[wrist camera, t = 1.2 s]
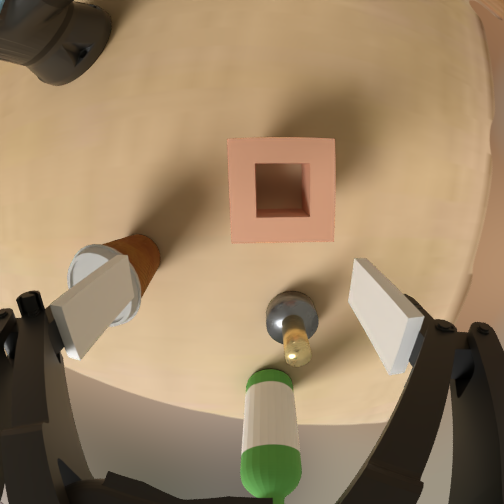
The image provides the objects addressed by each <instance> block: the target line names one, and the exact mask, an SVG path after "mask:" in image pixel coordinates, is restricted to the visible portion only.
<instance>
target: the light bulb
mask: <svg viewBox="0 0 504 504" xmlns="http://www.w3.org/2000/svg"><path fill="white" fill-rule="evenodd" d="M266 325H267V331H268V333H269V335H270V336H271V337H272V338H273V339H274V340H275V341H277V342H279V343H281V344H284V352H285V360H286V362H287V363H288V364H289V365H291V366H294V367H300V366H303V365H306V364H307V363H308V362H309V361H310V360H311V357H312V353H311V349H310V345H309V341H308V339H309V338H310V337H312V335H313V334H314V333H315V332H316V330H317V327H318V315H317V312H316V310H315V307H314V304H313V302H312V300H311V299H310V298H309V297H308V296H307V295H305V294H303V293H301V292H296V291H288V292H284V293H281V294H279V295H277V296H276V297H274V298H273V299H272V300H271V301H270V303H269V305H268V307H267V310H266Z"/></svg>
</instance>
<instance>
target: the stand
mask: <svg viewBox="0 0 504 504" xmlns="http://www.w3.org/2000/svg"><path fill="white" fill-rule="evenodd" d="M256 187H257V209H300V208H302V169H301V164H256Z"/></svg>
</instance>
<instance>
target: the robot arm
mask: <svg viewBox="0 0 504 504" xmlns="http://www.w3.org/2000/svg"><path fill="white" fill-rule="evenodd" d="M110 32H111V18H110V16H109V14H108V13H107V12H106V11H104V10H103V9H102V8H100V7H99V6H96V5H91V4H85V3H81V2H75V1H74V0H0V60H3V61H7V62H11V63H15V64H19V65H23V66H26V67H27V68H29V69H30V70H31V71H32V72H33V73H34V74H35V75H37V77H38V78H39V79H40V80H41V81H42V82H44V83H47V84H51V85H55V86H60V85H64V84H67V83H69V82H71V81H73V80H75V79H76V78H78V77H79V76H80V75H82V74H83V73H84V72H85V71H86V70H87V69H88V68H89V67H90V66H91V65H92V64H93V63H94V61H95V60H96V59H97V58H98V56H99V55H100V53H101V52H102V50H103V49H104V47H105V45H106V43H107V41H108V38H109V35H110ZM133 298H134V291H133V286H132V280H131V273H130V267H129V260H128V255H116V256H115V257H113V258H112V259H111V260H109V261H108V262H106V263H105V264H103V265H102V266H101V267H99V268H98V269H96V270H95V271H94V272H92V273H91V274H89V275H88V276H87V277H85V278H84V279H82V280H81V281H80V282H78V283H77V284H76V285H74V286H73V287H72V288H70V289H69V290H68V291H66V292H65V293H64V294H62V295H61V296H60V297H59V298H57V299H56V300H55V301H53V302H52V303H51V304H50V306H48V307H47V308H46V309H45V308H44V305H43V302H42V298H41V295H40V292H39V291H29V292H25V293H23V294H21V295H20V296H19V297H18V298H17V299H16V301H17V304H18V307H19V310H20V313H21V316H22V318H15V315H14V313H13V310H12V309H10V308H6V309H1V310H0V501H1V497H2V494H3V489H4V484H5V485H6V492H7V497H8V502H9V504H273V498H248V497H230V496H228V497H219V498H210V499H194V500H183V499H179V498H176V497H174V496H172V495H170V494H167V493H165V492H163V491H161V490H159V489H156V488H154V487H152V486H150V485H148V484H146V483H144V482H142V481H138V480H134V479H131V478H128V477H125V476H121V475H118V474H115V473H113V472H110V471H108V473H107V475H106V478H105V479H94V477H93V476H92V474H91V472H90V470H89V468H88V465H87V462H86V460H85V456H84V453H83V450H82V447H81V444H80V441H79V437H78V433H77V429H76V426H75V422H74V418H73V413H72V409H71V404H70V399H69V395H68V389H67V383H66V377H65V370H64V363H63V357H62V355H61V352H60V351H61V350H62V349H63V348H64V347H65V350H66V352H67V355H68V357H69V358H73V359H77V360H80V361H81V359H82V358H83V357H84V356H85V354H86V353H87V352H88V351H89V349H90V348H91V347H92V346H93V345H94V343H95V342H96V341H97V340H98V338H99V337H100V336H101V335H102V334H103V333H104V331H105V330H106V329H107V328H108V327H109V325H110V324H111V323H112V322H113V321H114V320H115V318H116V317H117V316H118V315H119V314H120V313H121V312H122V310H123V309H124V308H125V307H126V306H127V305H128V304H129V302H130V301H131V300H132V299H133ZM348 303H349V304H350V306H351V308H352V309H353V311H354V313H355V315H356V316H357V318H358V320H359V322H360V323H361V325H362V327H363V329H364V330H365V332H366V334H367V336H368V337H369V339H370V341H371V343H372V345H373V346H374V348H375V350H376V352H377V354H378V356H379V357H380V359H381V361H382V363H383V365H384V367H385V369H386V371H387V372H388V374H389V375H394V374H399V373H404V372H405V370H406V367H407V365H408V362H410V364H411V365H412V367H413V368H412V370H411V373H410V375H409V377H408V380H407V382H406V384H405V386H404V389H403V392H402V394H401V396H400V398H399V401H398V403H397V405H396V407H395V409H394V411H393V413H392V415H391V417H390V419H389V421H388V423H387V425H386V427H385V429H384V430H383V432H382V434H381V436H380V438H379V440H378V441H377V443H376V445H375V446H374V448H373V450H372V451H371V453H370V455H369V456H368V458H367V459H366V461H365V463H364V464H363V466H362V467H361V469H360V470H359V472H358V473H357V475H356V476H355V478H354V479H353V480H352V482H351V483H350V485H349V486H348V487H347V489H346V490H345V492H344V493H343V494H342V496H341V497H340V498H339V499H338V501H337V502H336V503H335V504H416V503H417V501H418V499H419V497H420V495H421V492H422V489H423V484H424V483H423V482H421V481H420V479H421V476H422V473H423V471H424V468H425V466H426V463H427V461H428V458H429V455H430V453H431V450H432V447H433V444H434V441H435V438H436V435H437V432H438V429H439V425H440V422H441V418H442V415H443V411H444V406H445V403H446V399H447V394H448V389H449V385H450V390H451V401H452V416H453V465H452V478H451V489H450V496H449V503H448V504H504V351H503V349H502V346H501V344H500V342H499V339H498V337H497V335H496V333H495V331H494V330H493V328H492V327H490V326H489V325H488V324H486V323H481V322H474V323H472V325H471V327H470V329H469V332H468V333H467V332H457V329H456V327H455V326H454V325H453V324H452V323H450V322H448V321H445V320H440V319H435V320H434V319H433V318H432V317H431V316H430V315H429V314H428V313H427V311H426V310H425V309H423V307H422V306H421V305H419V303H418V302H417V301H416V300H415V299H414V298H412V297H410V296H408V295H406V294H403V293H402V292H401V291H400V290H399V289H398V288H397V287H396V286H395V285H394V284H393V283H392V282H391V281H390V280H389V279H387V278H386V277H385V276H384V275H383V274H382V273H381V272H380V271H379V270H378V269H377V268H376V267H375V266H374V265H373V264H372V263H371V262H370V261H369V260H368V259H367V258H354V264H353V272H352V279H351V286H350V292H349V298H348ZM4 348H5V350H6V352H7V354H8V355H7V356H6V354H5V351H4ZM0 504H3V503H2V502H0Z"/></svg>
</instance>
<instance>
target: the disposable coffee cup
mask: <svg viewBox="0 0 504 504" xmlns="http://www.w3.org/2000/svg"><path fill="white" fill-rule="evenodd" d="M116 255H128V260H129V267H130V273H131V280H132V286H133V291H134V298H133V299H132V300H131V301H130V302H129V304H128V305H127V306H126V307H125V308H124V309H123V310H122V312H121V313H120V314H119V315H118V316H117V317H116V318H115V320H114V321H113V322H112V323H111V324H110V325H109V327H113V326H117V325H120V324H124V323H127V322H128V321H130V320H131V319H133V317H134V316H135V315H136V314H137V312H138V310H139V307H140V303H141V298H142V296H143V294H144V292H145V290H146V289H147V287H148V285H149V283H150V281H151V279H152V278H153V276H154V274H155V272H156V271H157V269H158V267H159V264H160V253H159V250H158V247H157V246H156V244H155V243H154V242H153V241H152V240H151V239H150V238H148V237H147V236H144V235H140V234H137V235H132V236H129V237H125V238H122V239H118V240H115V241H112V242H109V243H105V244H102V245H101V244H92V245H88V246H85V247H84V248H82V249H80V250H79V251H78V252H77V254H76V255H75V257H74V258H73V260H72V262H71V264H70V267H69V269H68V276H67V280H68V288H69V289H70V288H72V287H73V286H74V285H76V284H77V283H78V282H80V281H81V280H82V279H84V278H85V277H87V276H88V275H89V274H91V273H92V272H94V271H95V270H96V269H98V268H99V267H101V266H102V265H103V264H105V263H106V262H108V261H109V260H111V259H112V258H113V257H115V256H116Z"/></svg>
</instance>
